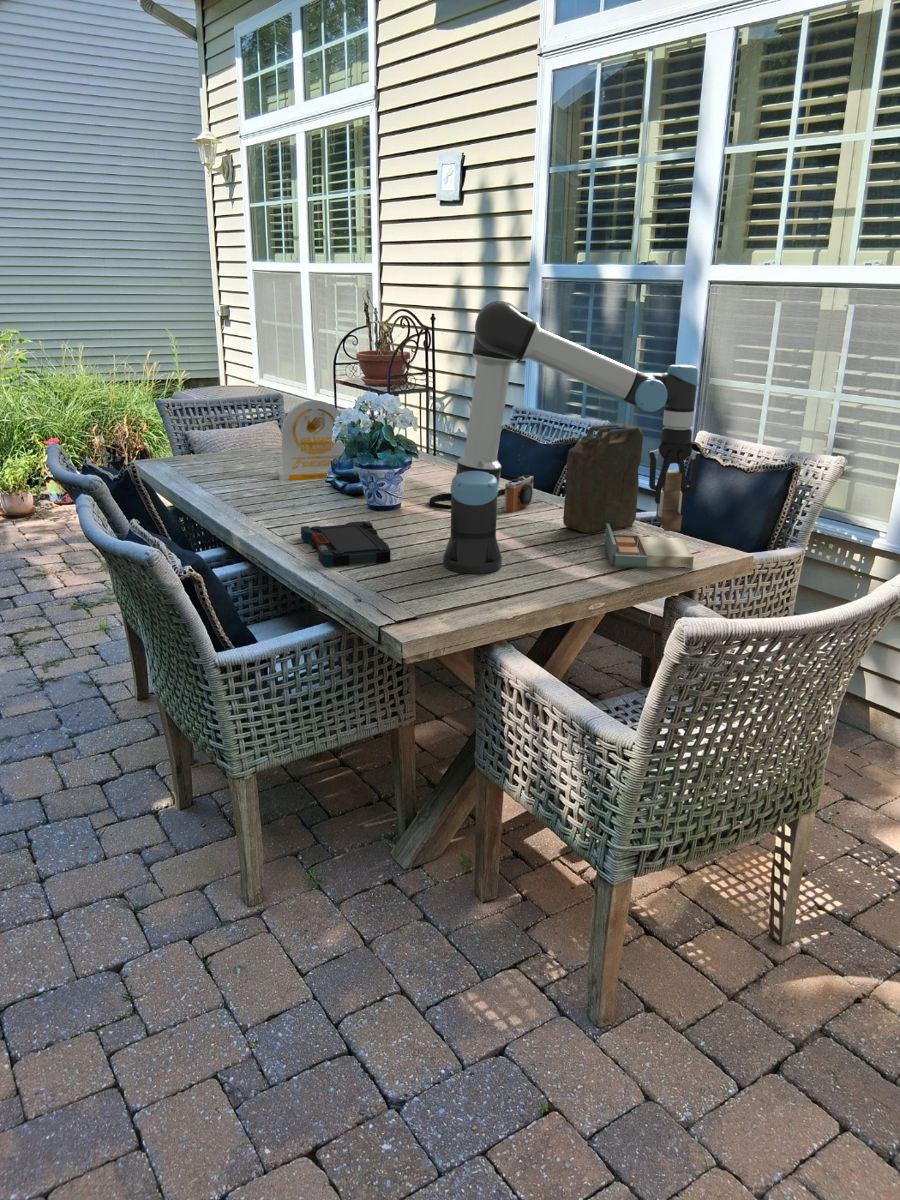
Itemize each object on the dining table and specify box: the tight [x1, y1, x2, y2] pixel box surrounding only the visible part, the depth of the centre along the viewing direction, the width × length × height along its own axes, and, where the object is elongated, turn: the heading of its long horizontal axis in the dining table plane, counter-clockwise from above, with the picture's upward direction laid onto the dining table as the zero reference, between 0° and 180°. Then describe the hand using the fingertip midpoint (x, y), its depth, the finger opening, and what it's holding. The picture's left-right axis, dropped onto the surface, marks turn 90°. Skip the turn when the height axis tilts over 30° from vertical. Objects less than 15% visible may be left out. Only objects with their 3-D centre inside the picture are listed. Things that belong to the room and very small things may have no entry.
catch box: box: [604, 524, 648, 569], centre depth 239 cm, size 9×21×6 cm, turn 175°
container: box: [562, 422, 644, 534], centre depth 263 cm, size 22×10×30 cm, turn 122°
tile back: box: [615, 537, 635, 551], centre depth 244 cm, size 5×5×2 cm
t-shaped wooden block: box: [655, 469, 683, 532], centre depth 234 cm, size 4×16×14 cm, turn 175°
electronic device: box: [300, 521, 392, 568], centre depth 242 cm, size 20×31×5 cm, turn 21°
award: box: [276, 399, 344, 481], centre depth 324 cm, size 28×9×28 cm, turn 108°
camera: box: [428, 474, 534, 513], centre depth 292 cm, size 30×30×10 cm
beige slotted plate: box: [638, 536, 695, 569], centre depth 239 cm, size 12×18×3 cm, turn 175°
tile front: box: [618, 546, 639, 556], centre depth 235 cm, size 5×5×2 cm
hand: (668, 515), depth 236 cm, fingers closed on t-shaped wooden block, 4 cm apart
